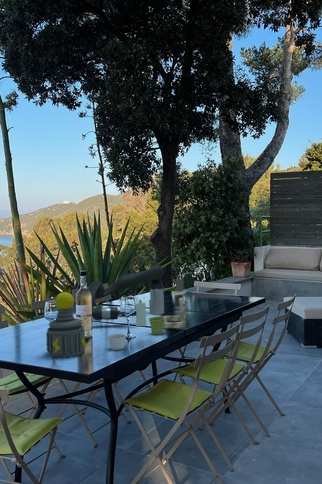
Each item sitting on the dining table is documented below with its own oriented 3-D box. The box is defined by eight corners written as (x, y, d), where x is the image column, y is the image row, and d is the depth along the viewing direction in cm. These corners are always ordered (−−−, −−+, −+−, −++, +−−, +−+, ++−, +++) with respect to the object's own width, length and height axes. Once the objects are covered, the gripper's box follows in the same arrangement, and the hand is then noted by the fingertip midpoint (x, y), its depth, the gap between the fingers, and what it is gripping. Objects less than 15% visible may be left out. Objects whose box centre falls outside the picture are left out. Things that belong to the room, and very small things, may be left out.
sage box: (136, 326, 299) (135, 300, 298) (136, 324, 304) (135, 299, 303) (146, 326, 299) (145, 300, 299) (146, 324, 304) (145, 299, 304)
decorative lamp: (58, 347, 252) (56, 289, 251) (92, 349, 247) (90, 289, 246) (39, 357, 234) (36, 294, 233) (75, 359, 229) (72, 295, 228)
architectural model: (192, 309, 353) (191, 282, 352) (158, 309, 358) (157, 282, 358) (199, 301, 390) (198, 276, 390) (168, 301, 396) (167, 276, 395)
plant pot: (153, 336, 271) (153, 320, 270) (146, 333, 279) (145, 318, 279) (168, 334, 275) (168, 318, 275) (160, 331, 283) (160, 316, 283)
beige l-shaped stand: (164, 328, 290) (163, 304, 290) (162, 320, 313) (161, 298, 313) (186, 327, 291) (185, 303, 290) (183, 320, 314) (182, 298, 313)
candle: (126, 345, 252) (126, 333, 251) (125, 350, 243) (125, 337, 242) (108, 346, 251) (108, 334, 251) (107, 351, 242) (107, 338, 242)
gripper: (108, 309, 293) (136, 308, 294) (110, 305, 308) (136, 304, 308) (109, 321, 294) (136, 320, 294) (110, 317, 308) (136, 316, 308)
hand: (136, 312), depth 301 cm, fingers open, 8 cm apart
